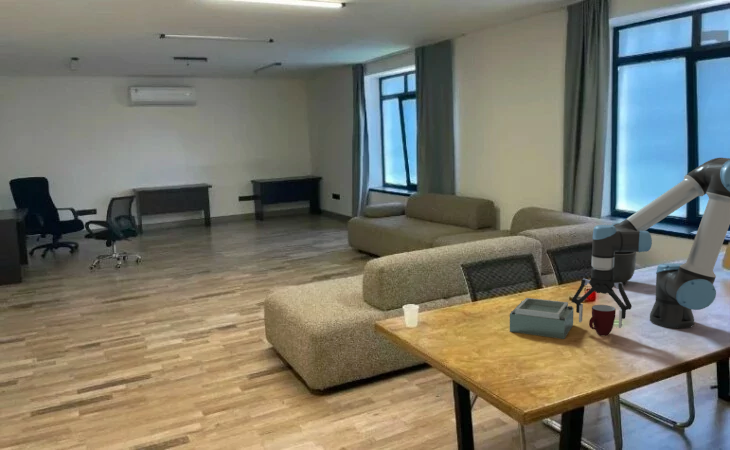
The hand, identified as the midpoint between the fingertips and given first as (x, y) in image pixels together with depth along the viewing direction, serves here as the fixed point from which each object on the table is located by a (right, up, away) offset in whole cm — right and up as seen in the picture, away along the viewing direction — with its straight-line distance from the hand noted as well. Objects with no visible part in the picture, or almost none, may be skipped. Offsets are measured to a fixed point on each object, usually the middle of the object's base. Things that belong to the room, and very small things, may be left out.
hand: (599, 324), depth 209 cm
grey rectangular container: (-18, -3, +10) cm, 21 cm away
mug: (+1, -4, +1) cm, 4 cm away
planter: (+36, +8, +68) cm, 77 cm away
